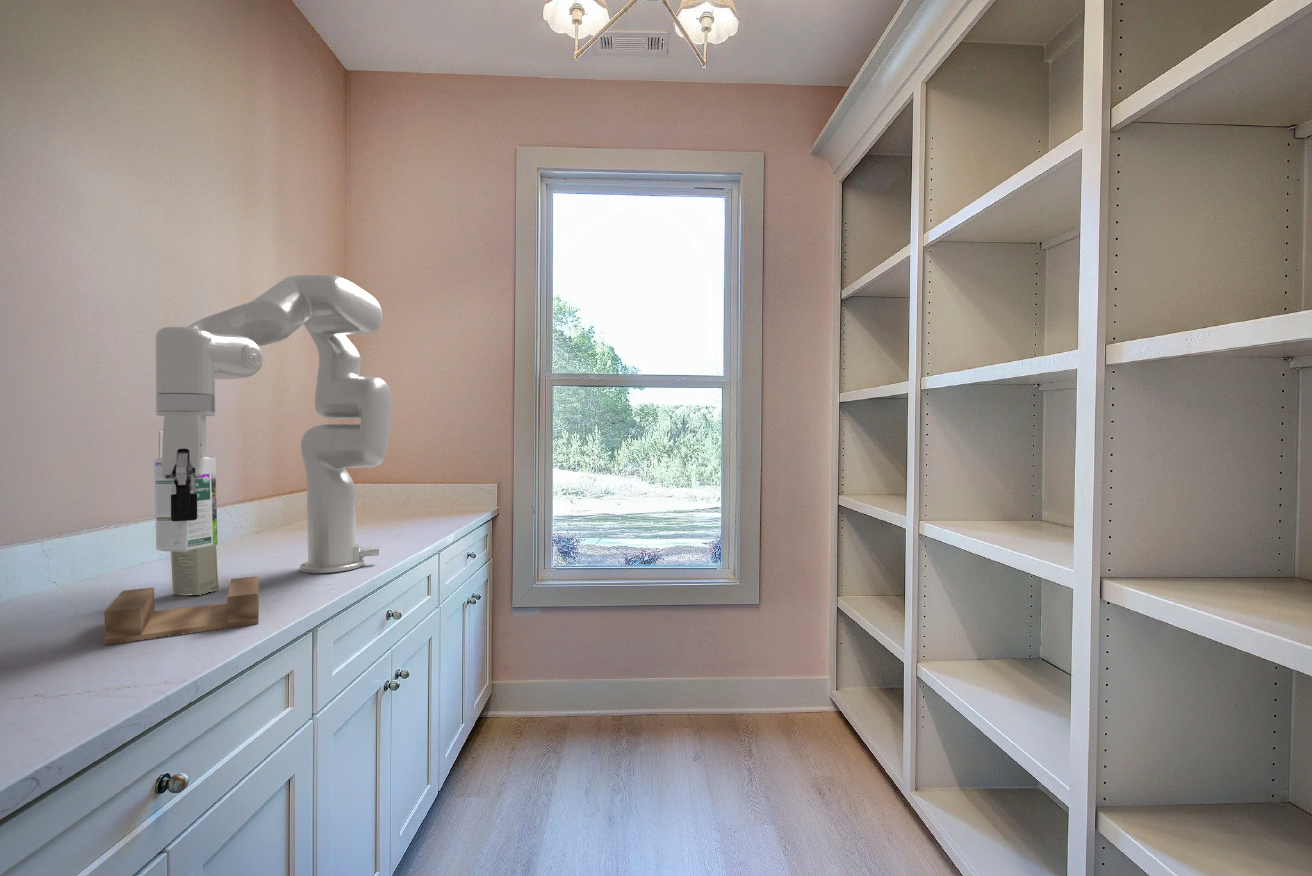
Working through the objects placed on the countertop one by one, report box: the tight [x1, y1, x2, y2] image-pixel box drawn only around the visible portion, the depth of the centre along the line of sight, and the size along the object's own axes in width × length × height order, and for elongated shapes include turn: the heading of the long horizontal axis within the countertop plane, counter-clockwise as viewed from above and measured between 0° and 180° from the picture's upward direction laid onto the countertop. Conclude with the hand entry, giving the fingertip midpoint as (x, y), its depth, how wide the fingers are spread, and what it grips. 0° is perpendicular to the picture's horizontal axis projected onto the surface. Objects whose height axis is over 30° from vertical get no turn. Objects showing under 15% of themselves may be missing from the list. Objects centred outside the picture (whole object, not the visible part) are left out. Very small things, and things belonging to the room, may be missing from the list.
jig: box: [103, 575, 260, 646], centre depth 101 cm, size 18×14×5 cm
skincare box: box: [170, 545, 219, 596], centre depth 119 cm, size 6×4×12 cm
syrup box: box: [153, 455, 219, 552], centre depth 101 cm, size 6×6×14 cm
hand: (187, 517), depth 101 cm, fingers closed on syrup box, 7 cm apart
